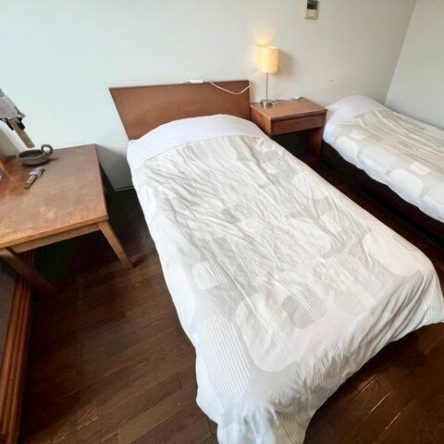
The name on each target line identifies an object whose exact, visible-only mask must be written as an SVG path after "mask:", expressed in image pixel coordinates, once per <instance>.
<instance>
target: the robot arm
mask: <svg viewBox="0 0 444 444" xmlns="http://www.w3.org/2000/svg"><path fill="white" fill-rule="evenodd" d="M25 117H26V114H24V113H23V112H21V110H20V109H19V108H18V106H17V105H16V103H14V101H13V99H11V98H10V97H9V96H8V95H7V94H6V93H4V91H3V90H2V88H1V87H0V121H1V122H3V123H4V124H5V125H6V126H7V127H8V129H10V130H11V131H15V130H14V129H13V128H12V126H11V125H10V123H9V122H8V121H7V119H10V118H14V119H15V121H16V122H17V125H18V126H19V128H20V129H21V130H24V131H25V129H26V125H25V124H24V123H23V122H22V121H23V119H24V118H25Z"/></svg>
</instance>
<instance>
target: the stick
mask: <svg viewBox="0 0 444 444" xmlns="http://www.w3.org/2000/svg"><path fill="white" fill-rule="evenodd" d="M7 121H8V122H9V123H10V125H11V126H12V128H13V129H14V130H13V131H14V132H15V133H16V135H17V136H18V138H20V140H21V142H22V143H23V144H24V145H25V147H26V148H27V149H33V148H35V147H36V145H35V144H34V142H33V141H32V139H31V137H30V136H29V134H27V132H26V130H25V129H24V130H21V129H20V128H19V126H18V125H17V122H16V121H15V119H14V118H8V119H7Z"/></svg>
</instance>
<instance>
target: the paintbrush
mask: <svg viewBox="0 0 444 444" xmlns="http://www.w3.org/2000/svg"><path fill="white" fill-rule="evenodd" d="M44 168H45V166H44V165H43V166H37V167H36V168H34V169H33V170H31V172H29V173H28V174H27V175H28V176H29V178H28V180H27V181H26V182H25V184H24V185H23V186H22V187H23V189H26V190H27V189H29V187H30V186H31V185H32V183H33V182H34V181H35V179H40V178H41V175H42V173H43V170H44Z"/></svg>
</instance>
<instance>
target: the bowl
mask: <svg viewBox="0 0 444 444" xmlns="http://www.w3.org/2000/svg"><path fill="white" fill-rule="evenodd" d="M44 148H48V149H49V152H46V151H45V149H44ZM53 154H54V148H53V146H52V145H50V144H48V143H43V144H42V145H40V148H39V149H38V148H36V149H33V148H32V149H27V150H24V151H20V152H18V153H17V154H16V159H17V162H20V163H21V164H24V165H29V166H34V165H41V164H43V163H45V162H46V161H48V160H49V158H50V157H51V156H52V155H53Z"/></svg>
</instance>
